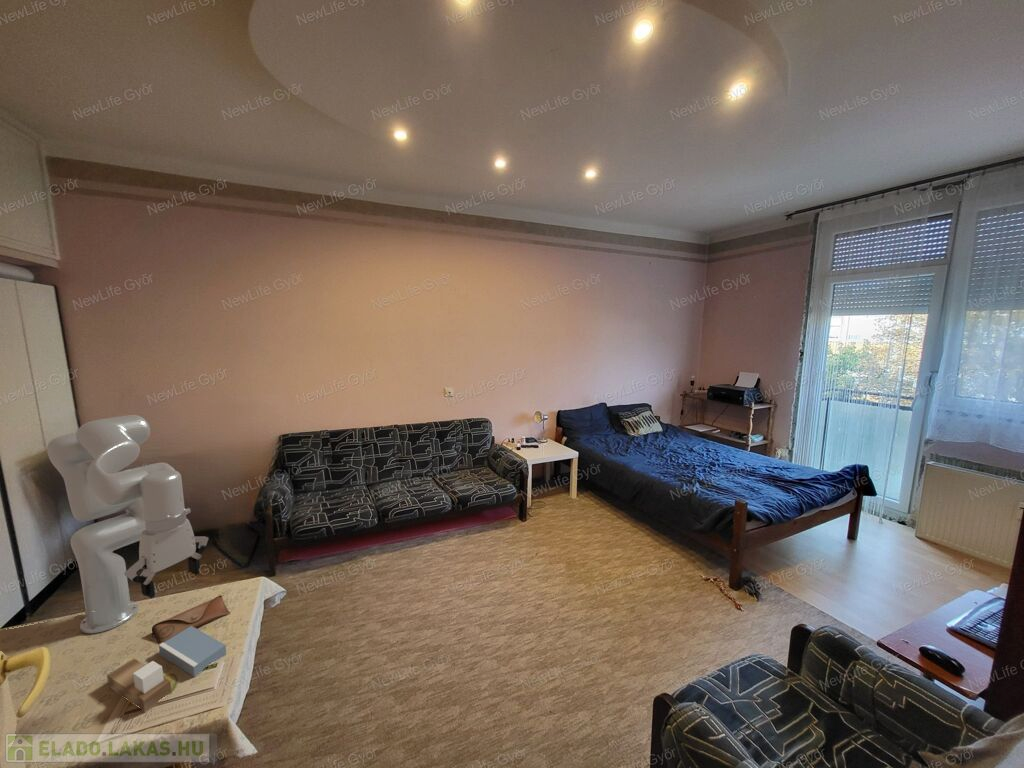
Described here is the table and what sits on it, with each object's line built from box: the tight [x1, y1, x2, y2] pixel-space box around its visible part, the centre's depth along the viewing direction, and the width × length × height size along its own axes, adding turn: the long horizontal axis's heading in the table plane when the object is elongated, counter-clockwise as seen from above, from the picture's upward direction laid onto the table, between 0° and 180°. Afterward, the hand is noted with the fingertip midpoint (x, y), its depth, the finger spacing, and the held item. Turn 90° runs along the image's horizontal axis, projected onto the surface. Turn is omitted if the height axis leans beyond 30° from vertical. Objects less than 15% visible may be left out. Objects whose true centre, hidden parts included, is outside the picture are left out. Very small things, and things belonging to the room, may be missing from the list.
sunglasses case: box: [151, 595, 231, 645], centre depth 123 cm, size 18×7×7 cm, turn 144°
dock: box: [158, 626, 227, 677], centre depth 111 cm, size 16×8×3 cm, turn 67°
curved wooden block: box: [106, 658, 172, 713], centre depth 100 cm, size 16×6×4 cm, turn 68°
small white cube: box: [133, 660, 164, 693], centre depth 98 cm, size 4×4×4 cm
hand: (172, 583), depth 100 cm, fingers open, 9 cm apart
